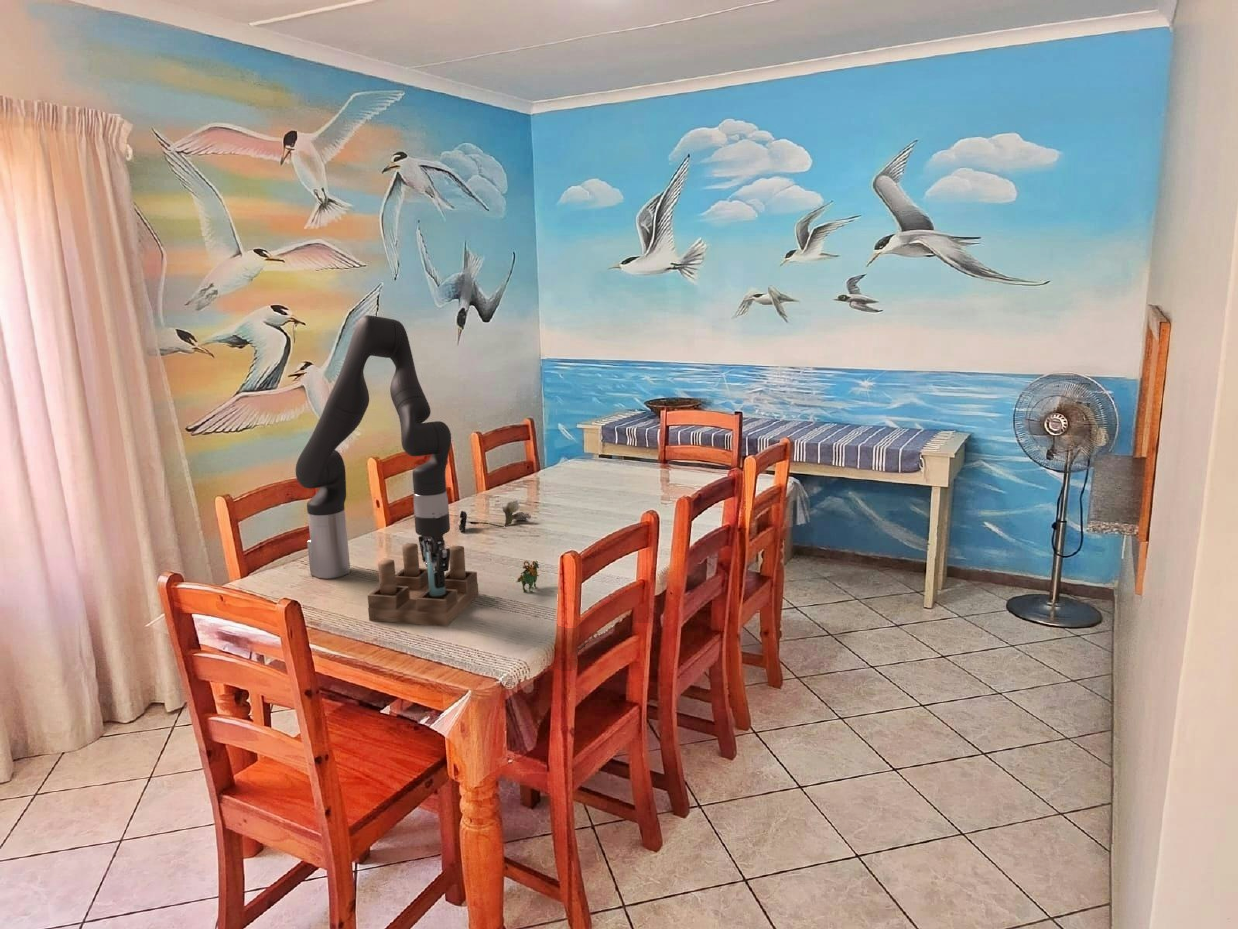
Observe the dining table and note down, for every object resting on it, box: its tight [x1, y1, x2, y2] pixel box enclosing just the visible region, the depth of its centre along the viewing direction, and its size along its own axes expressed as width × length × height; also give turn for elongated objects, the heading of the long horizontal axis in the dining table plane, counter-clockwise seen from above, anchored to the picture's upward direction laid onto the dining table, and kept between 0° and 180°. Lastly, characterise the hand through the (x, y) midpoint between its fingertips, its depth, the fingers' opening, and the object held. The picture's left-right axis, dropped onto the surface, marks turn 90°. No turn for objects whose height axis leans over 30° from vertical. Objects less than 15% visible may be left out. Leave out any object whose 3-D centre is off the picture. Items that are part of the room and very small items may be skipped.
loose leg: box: [426, 551, 446, 596], centre depth 184 cm, size 4×4×10 cm
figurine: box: [515, 560, 540, 594], centre depth 201 cm, size 3×12×8 cm, turn 160°
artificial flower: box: [458, 500, 532, 533], centre depth 256 cm, size 9×22×10 cm, turn 111°
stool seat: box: [367, 542, 480, 627], centre depth 192 cm, size 19×19×13 cm
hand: (436, 584), depth 185 cm, fingers closed on loose leg, 3 cm apart
